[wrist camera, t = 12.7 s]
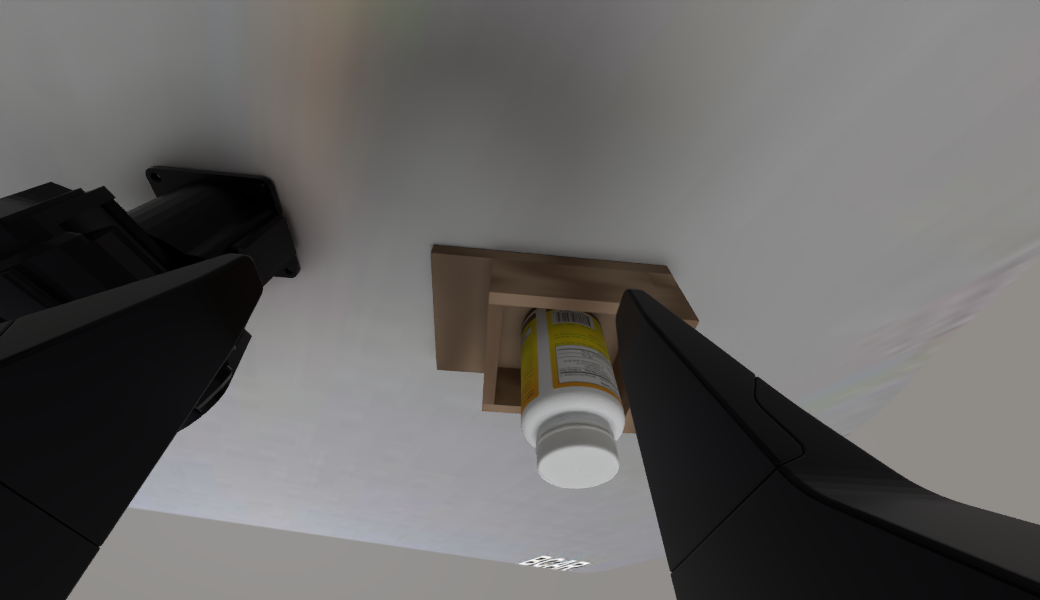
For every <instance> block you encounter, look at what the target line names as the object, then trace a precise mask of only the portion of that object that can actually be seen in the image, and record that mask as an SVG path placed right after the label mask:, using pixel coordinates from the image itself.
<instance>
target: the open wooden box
mask: <svg viewBox="0 0 1040 600" xmlns="http://www.w3.org/2000/svg"><path fill="white" fill-rule="evenodd" d="M431 267H432V286H433V305H434V323H435V342H436V360H437V370H448V371H462V372H476V373H484V386H483V403H482V411H489V412H504V413H519V414H521V331H522V326H523V324H524V322H525V320H526V319H527V317H528V316H529V315H530V314H531V313H532V312H533V311H534V310H536V309H537V308H545V309H557V310H570V311H582V312H593V313H594V314H595V315H596V316H597V318H598V320H599V322H600V324H601V327H602V331H603V335H604V339H605V343H606V346H607V350H608V354H609V357H610V361H611V365H612V369H613V373H614V376H615V380H616V384H617V388H618V391H619V395H620V399H621V402H622V406H623V410H624V415H625V426H624V430H623V432H622V433H636V431H635V427H634V423H633V419H632V415H631V411H630V407H629V403H628V399H627V394H626V390H625V386H624V382H623V378H622V372H621V366H620V357H619V349H618V340H617V331H616V322H615V321H616V314H617V310H618V307H619V304H620V301H621V299H622V296H623V293H624V291H625V290H626V289H628V288H629V289H641V290H644V291H645V292H646V293H648V294H649V295H650V296H652V297H653V298H654V299H656V300H657V301H658V302H660V303H661V304H662V305H664V306H665V307H666V308H668V309H669V310H670V311H672V312H673V313H674V314H675V315H677V316H678V317H679V318H681V319H682V320H683V321H685V322H686V323H687V324H689V325H690V326H691V327H693V328H694V329H695V328H696V326H697V324H698V322H699V320H698V318H697V316H696V315H695V313H694V311H693V310H692V308H691V306H690V305H689V303H688V301H687V299H686V298H685V296H684V294H683V293H682V291H681V289H680V288H679V286H678V284H677V283H676V281H675V279H674V278H673V276H672V274H671V272H670V271H669V269H668V267H667V266H661V265H650V264H639V263H628V262H617V261H606V260H595V259H584V258H572V257H561V256H550V255H539V254H528V253H517V252H506V251H495V250H484V249H473V248H462V247H451V246H440V245H434V246H433V248H432V251H431Z"/></svg>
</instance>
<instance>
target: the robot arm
mask: <svg viewBox="0 0 1040 600" xmlns="http://www.w3.org/2000/svg"><path fill="white" fill-rule="evenodd" d="M145 174H146V177H147V179H148V181H149V183H150V185H151V187H152V188H153V190H154V192H155V194H156V196H157V198H156V199H153V200H151V201H149V202H147V203H145V204H143V205H141V206H139V207H137V208H135V209H132V210H130V211H128V212H126V211H125V210H124V209H123V208H122V207H121V206H120V205H119V204H118V203H117V202H116V201H115V200H114V198H115V197H114V195H113V194H112V193H111V192H110V191H109V190H108V189H107V188H106V187H105V186H102V187H99V188H97V189H94V190H91V191H88V192H84V191H83V190H82V189H81V188H79V189H76V190H71V189H68V188H65V187H63V186H60V185H58V184H55V183H53V182H49V183H46V184H43V185H40V186H37V187H34V188H31V189H28V190H25V191H22V192H19V193H16V194H13V195H10V196H7V197H4V198H1V199H0V600H66V599H67V597H68V596H69V594H70V593H71V591H72V590H73V588H74V587H75V585H76V584H77V582H78V581H79V579H80V578H81V576H82V575H83V573H84V572H85V570H86V569H87V567H88V566H89V564H90V563H91V561H92V560H93V558H94V557H95V555H96V554H97V552H98V551H99V549H100V548H99V546H101V545H102V544H103V543H104V541H105V540H106V538H107V537H108V535H109V534H110V532H111V531H112V529H113V528H114V526H115V525H116V523H117V522H118V520H119V519H120V517H121V516H122V514H123V513H124V511H125V510H126V508H127V507H128V505H129V504H130V502H131V501H132V500H133V498H134V497H135V495H136V494H137V492H138V491H139V489H140V488H141V486H142V485H143V483H144V482H145V480H146V479H147V477H148V476H149V474H150V473H151V471H152V470H153V468H154V467H155V465H156V464H157V462H158V461H159V459H160V458H161V456H162V455H163V453H164V452H165V450H166V449H167V447H168V446H169V444H170V443H171V441H172V440H173V438H174V437H175V435H176V434H177V432H179V431H180V430H182V429H184V428H186V427H187V426H189V425H190V424H192V423H193V422H194V421H196V420H197V419H199V418H200V417H201V416H202V415H204V414H205V413H206V412H207V411H208V410H209V409H210V408H211V407H212V406H213V405H214V404H215V403H216V402H218V400H219V399H220V398H221V397H222V395H223V394H224V393H225V391H226V390H227V388H228V386H229V384H230V382H231V380H232V378H233V375H234V373H235V371H236V369H237V367H238V365H239V363H240V360H241V358H242V356H243V354H244V352H245V350H246V348H247V345H248V343H249V341H250V339H251V337H252V336H251V335H250V334H249V333H248V332H247V331H246V330H245V329H244V328H245V326H246V324H247V322H248V320H249V318H250V316H251V314H252V312H253V310H254V308H255V306H256V304H257V302H258V301H259V299H260V297H261V295H262V291H263V286H264V285H265V284H266V283H267V282H268V281H269V280H270V279H271V278H272V277H273V276H275V277H286V278H294V277H296V276H297V274H298V273H299V272H300V268H299V265H298V262H297V259H296V256H295V254H296V251H295V248H294V245H293V242H292V238H291V235H290V232H289V229H288V225H287V222H286V219H285V217H284V216H283V214H282V210H281V207H280V204H279V201H278V198H277V194H276V191H275V188H274V185H273V183H272V182H271V181H270V180H269V179H268V178H266V177H263V176H255V175H245V174H235V173H225V172H214V171H204V170H194V169H184V168H174V167H164V166H153V167H151V168H148V169H147V170H146V172H145ZM157 174H158V175H159V176H160V177H161V178H159V177H158V175H157ZM260 183H261V184H263V185H264V186H265V188H266V189H263V188H262V187H261V186H260ZM288 268H289V269H291V270H292V271H290V270H289V269H288ZM615 322H616V331H617V340H618V349H619V357H620V366H621V372H622V378H623V382H624V386H625V390H626V394H627V399H628V403H629V407H630V411H631V415H632V419H633V423H634V427H635V431H636V435H637V439H638V443H639V447H640V451H641V455H642V459H643V463H644V467H645V472H646V476H647V480H648V484H649V488H650V492H651V496H652V500H653V504H654V508H655V512H656V516H657V520H658V524H659V528H660V532H661V536H662V540H663V544H664V549H665V553H666V557H667V561H668V565H669V569H670V571H671V572H672V573H671V578H672V582H673V585H674V589H675V594H676V598H677V600H1040V525H1038V524H1034V523H1030V522H1027V521H1023V520H1020V519H1016V518H1013V517H1009V516H1006V515H1002V514H998V513H995V512H991V511H988V510H984V509H980V508H977V507H973V506H970V505H966V504H963V503H960V502H956V501H954V500H951V499H948V498H946V497H943V496H940V495H938V494H936V493H934V492H931V491H929V490H927V489H925V488H923V487H921V486H919V485H917V484H915V483H913V482H912V481H909V480H908V479H906V478H905V477H903V476H902V475H900V474H898V473H897V472H895V471H894V470H892V469H891V468H889V467H888V466H886V465H885V464H883V463H882V462H880V461H879V460H877V459H876V458H874V457H873V456H871V455H870V454H868V453H867V452H865V451H864V450H862V449H861V448H859V447H858V446H856V445H855V444H853V443H852V442H850V441H849V440H847V439H846V438H844V437H843V436H841V435H840V434H838V433H837V432H835V431H834V430H832V429H831V428H829V427H828V426H826V425H825V424H823V423H822V422H821V421H819V420H818V419H816V418H815V417H813V416H812V415H810V414H809V413H807V412H806V411H804V410H803V409H802V408H800V407H799V406H797V405H796V404H794V403H793V402H792V401H790V400H789V399H787V398H786V397H785V396H783V395H782V394H781V393H779V392H778V391H777V390H775V389H774V388H772V387H771V386H770V385H768V384H767V383H766V382H765V381H763V380H762V379H761V378H759V377H755V374H754V373H753V372H751V371H750V370H749V369H747V368H746V367H745V366H743V365H742V364H741V363H739V362H738V361H737V360H735V359H734V358H733V357H731V356H730V355H729V354H727V353H726V352H725V351H723V350H722V349H721V348H719V347H718V346H717V345H715V344H714V343H713V342H711V341H710V340H709V339H707V338H706V337H705V336H703V335H702V334H701V333H699V332H698V331H697V330H695V329H694V328H693V327H691V326H690V325H689V324H687V323H686V322H685V321H683V320H682V319H681V318H679V317H678V316H677V315H675V314H674V313H673V312H672V311H670V310H669V309H668V308H666V307H665V306H664V305H662V304H661V303H660V302H658V301H657V300H656V299H654V298H653V297H652V296H650V295H649V294H648V293H646V292H645V291H644V290H641V289H629V288H628V289H626V290H625V291H624V293H623V296H622V299H621V301H620V304H619V307H618V310H617V314H616V321H615Z"/></svg>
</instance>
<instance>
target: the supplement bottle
mask: <svg viewBox="0 0 1040 600" xmlns="http://www.w3.org/2000/svg"><path fill="white" fill-rule="evenodd" d="M624 426H625V415H624V410H623V406H622V402H621V399H620V395H619V391H618V388H617V384H616V380H615V376H614V373H613V369H612V365H611V361H610V357H609V354H608V350H607V346H606V343H605V339H604V335H603V331H602V327H601V324H600V322H599V320H598V318H597V316H596V315H595V314H594V313H593V312H582V311H570V310H557V309H545V308H537V309H536V310H534V311H533V312H532V313H531V314H530V315H529V316H528V317H527V319H526V320H525V322H524V324H523V326H522V331H521V428H522V432H523V434H524V437H525V438H526V440H527V441H528V442H529V443H530V444H531V445H532V446H533V447H534V448H535V450H536V455H537V469H538V472H539V474H540V476H541V477H542V478H543V479H544V480H545V481H546V482H548V483H550V484H552V485H555V486H559V487H563V488H572V489H578V488H588V487H593V486H597V485H600V484H603V483H605V482H607V481H608V480H610V479H611V478H613V477H614V476H615V475H616V473H617V472H618V469H619V458H618V453H617V444H616V441H617V440H618V438H619V437H620V436H621V434H622V432H623V430H624Z"/></svg>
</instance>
